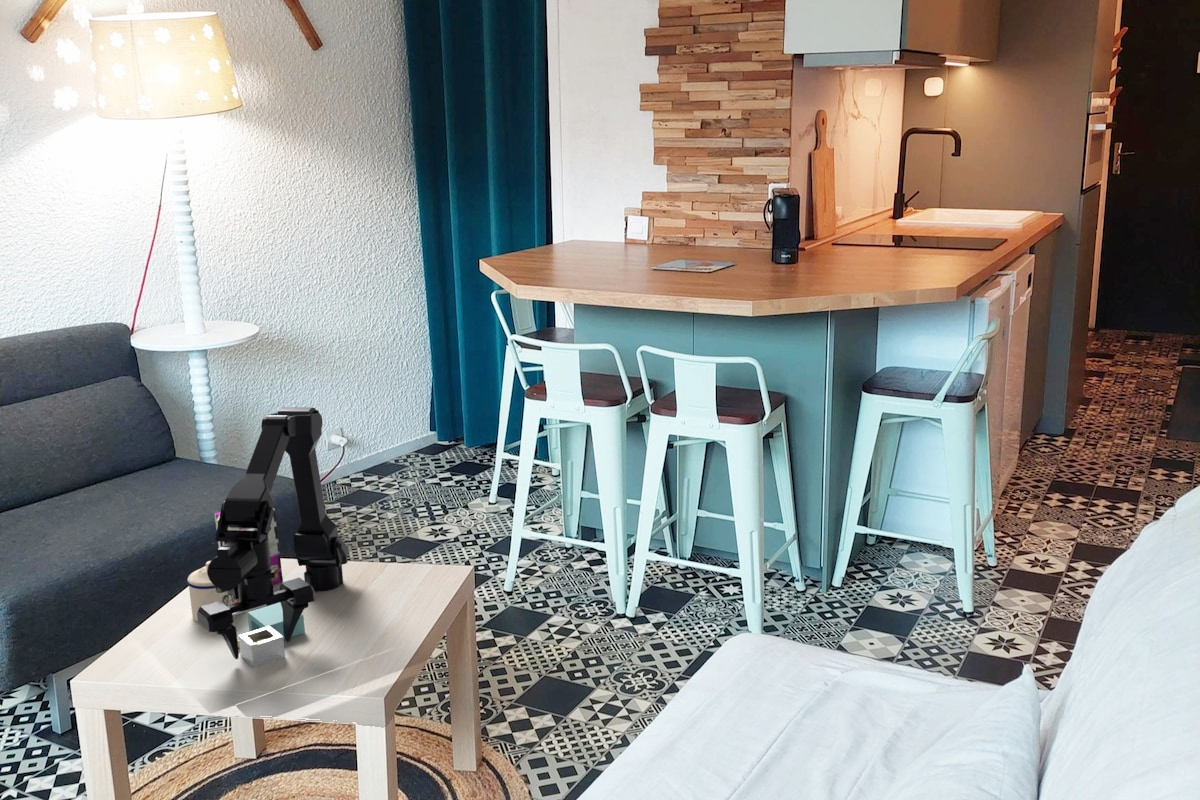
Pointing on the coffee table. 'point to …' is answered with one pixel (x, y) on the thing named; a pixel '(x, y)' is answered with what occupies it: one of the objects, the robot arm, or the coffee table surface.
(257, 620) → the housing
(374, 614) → the coffee table surface
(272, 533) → the candy bar box
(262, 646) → the hollow square metal block
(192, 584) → the teacup with lid
